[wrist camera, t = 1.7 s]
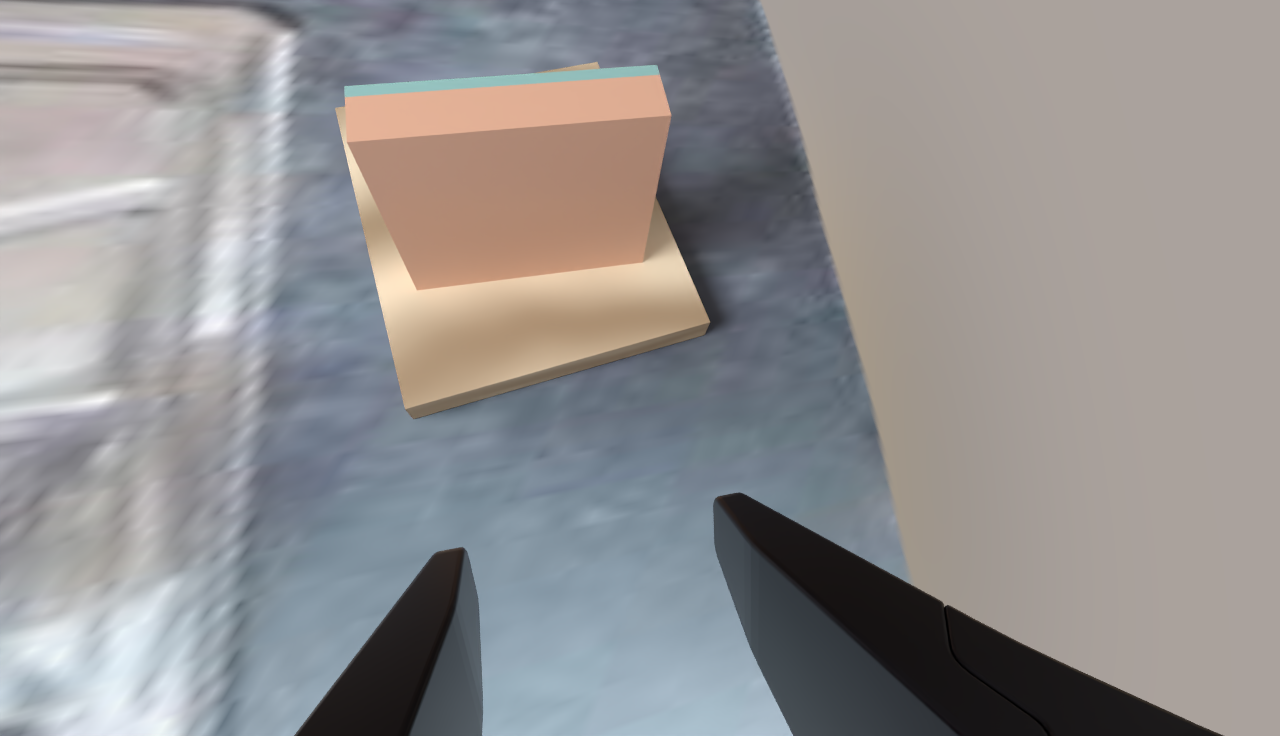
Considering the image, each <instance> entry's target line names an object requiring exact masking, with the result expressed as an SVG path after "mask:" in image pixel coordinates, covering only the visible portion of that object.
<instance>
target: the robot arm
mask: <svg viewBox="0 0 1280 736" xmlns="http://www.w3.org/2000/svg"><path fill="white" fill-rule="evenodd" d="M713 513H714V543H715V549H716V554H717V557H718V560H719V563H720V566H721V568H722V571H723V574H724V577H725V580H726V582H727V585H728V588H729V591H730V593H731V596H732V599H733V602H734V604H735V607H736V610H737V613H738V616H739V618H740V621H741V624H742V627H743V629H744V632H745V635H746V637H747V640H748V643H749V645H750V648H751V650H752V652H753V655H754V657H755V659H756V661H757V663H758V665H759V667H760V669H761V671H762V673H763V676H764V678H765V680H766V682H767V684H768V686H769V688H770V690H771V692H772V694H773V696H774V698H775V700H776V702H777V704H778V706H779V708H780V710H781V712H782V714H783V716H784V718H785V720H786V722H787V724H788V726H789V728H790V730H791V732H792V734H793V736H1223V735H1221V734H1218V733H1216V732H1213V731H1211V730H1209V729H1206V728H1204V727H1202V726H1199V725H1197V724H1195V723H1193V722H1191V721H1188V720H1186V719H1184V718H1182V717H1180V716H1177V715H1175V714H1173V713H1171V712H1169V711H1166V710H1164V709H1162V708H1160V707H1158V706H1156V705H1153V704H1151V703H1149V702H1147V701H1144V700H1142V699H1140V698H1138V697H1136V696H1134V695H1131V694H1129V693H1127V692H1125V691H1122V690H1120V689H1118V688H1116V687H1114V686H1111V685H1109V684H1107V683H1105V682H1103V681H1101V680H1098V679H1096V678H1094V677H1092V676H1090V675H1088V674H1085V673H1083V672H1081V671H1079V670H1077V669H1074V668H1072V667H1070V666H1068V665H1066V664H1064V663H1061V662H1059V661H1057V660H1055V659H1053V658H1051V657H1049V656H1047V655H1045V654H1042V653H1041V652H1038V651H1036V650H1034V649H1032V648H1030V647H1028V646H1026V645H1024V644H1022V643H1020V642H1018V641H1016V640H1014V639H1012V638H1009V637H1008V636H1006V635H1004V634H1002V633H1000V632H998V631H996V630H995V629H993V628H991V627H989V626H986V625H985V624H983V623H981V622H979V621H977V620H975V619H973V618H971V617H970V616H968V615H966V614H964V613H962V612H961V611H958V610H957V609H955V608H953V607H951V606H949V605H947V606H945V607H944V604H943V602H941V601H940V600H938V599H936V598H934V597H933V596H931V595H929V594H927V593H925V592H923V591H921V590H920V589H918V588H916V587H914V586H912V585H911V584H909V583H907V582H905V581H903V580H901V579H899V578H898V577H896V576H894V575H892V574H890V573H888V572H887V571H885V570H883V569H881V568H879V567H877V566H876V565H874V564H872V563H870V562H868V561H866V560H865V559H863V558H861V557H859V556H857V555H855V554H854V553H852V552H850V551H848V550H846V549H844V548H842V547H841V546H839V545H837V544H835V543H833V542H831V541H830V540H828V539H826V538H824V537H822V536H820V535H819V534H817V533H815V532H813V531H811V530H809V529H808V528H806V527H804V526H802V525H800V524H798V523H797V522H795V521H793V520H791V519H789V518H787V517H785V516H784V515H782V514H780V513H778V512H776V511H774V510H773V509H771V508H769V507H767V506H765V505H763V504H762V503H760V502H758V501H756V500H754V499H752V498H751V497H749V496H747V495H745V494H743V493H733V494H728V495H723V496H718V497H717V498H716V499H715V500H714V504H713ZM482 722H483V691H482V667H481V644H480V620H479V603H478V596H477V591H476V586H475V582H474V578H473V574H472V569H471V565H470V561H469V556H468V553H467V551H466V550H465V548H463V547H459V548H454V549H449V550H444V551H439V552H436V553H435V554H434V555H433V556H432V557H431V558H430V559H429V561H428V562H427V563H426V565H425V566H424V567H423V568H422V570H421V571H420V572H419V574H418V575H417V576H416V578H415V579H414V580H413V582H412V583H411V584H410V585H409V587H408V588H407V589H406V591H405V592H404V593H403V595H402V596H401V597H400V598H399V600H398V601H397V602H396V604H395V605H394V606H393V608H392V609H391V610H390V611H389V613H388V614H387V615H386V617H385V618H384V619H383V621H382V622H381V623H380V625H379V626H378V627H377V628H376V630H375V631H374V632H373V634H372V635H371V636H370V638H369V639H368V640H367V641H366V643H365V644H364V645H363V647H362V648H361V649H360V651H359V652H358V653H357V654H356V656H355V657H354V658H353V660H352V661H351V662H350V664H349V665H348V666H347V668H346V669H345V670H344V671H343V673H342V674H341V675H340V677H339V678H338V679H337V681H336V682H335V683H334V684H333V686H332V687H331V688H330V690H329V691H328V692H327V694H326V695H325V696H324V697H323V699H322V700H321V701H320V703H319V704H318V705H317V707H316V708H315V709H314V711H313V712H312V713H311V714H310V716H309V717H308V718H307V720H306V721H305V722H304V724H303V725H302V726H301V727H300V729H299V730H298V731H297V733H296V734H295V735H294V736H482Z"/></svg>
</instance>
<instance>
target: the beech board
mask: <svg viewBox="0 0 1280 736" xmlns="http://www.w3.org/2000/svg"><path fill="white" fill-rule="evenodd" d="M590 69H600V68H599V65H598V63H597V62H595V63H589V64H583V65H578V66H572V67H566V68H561V69H555V70H549V71H543V72H538V73H547V72H561V71H576V70H590ZM335 109H336V114H337V118H338V122H339V126H340V131H341V135H342V139H343V144H344V148H345V152H346V157H347V161H348V165H349V170H350V174H351V178H352V182H353V187H354V191H355V195H356V200H357V204H358V208H359V213H360V217H361V221H362V225H363V230H364V234H365V238H366V243H367V247H368V251H369V256H370V260H371V264H372V269H373V273H374V277H375V281H376V286H377V290H378V294H379V299H380V303H381V307H382V312H383V316H384V320H385V324H386V329H387V333H388V337H389V342H390V346H391V350H392V355H393V359H394V363H395V368H396V372H397V376H398V380H399V385H400V389H401V393H402V398H403V402H404V406H405V410H406V411H407V412H408V413H409V415H410V416H411V417H412V418H413V419H416V418H419V417H423V416H426V415H430V414H433V413H436V412H440V411H443V410H447V409H450V408H454V407H457V406H461V405H464V404H468V403H471V402H475V401H478V400H481V399H485V398H488V397H492V396H495V395H499V394H502V393H506V392H509V391H513V390H516V389H519V388H523V387H526V386H530V385H533V384H537V383H540V382H544V381H547V380H551V379H554V378H557V377H561V376H564V375H568V374H571V373H575V372H578V371H582V370H585V369H589V368H592V367H595V366H599V365H602V364H606V363H609V362H613V361H616V360H620V359H623V358H627V357H630V356H634V355H637V354H640V353H644V352H647V351H651V350H654V349H658V348H661V347H665V346H668V345H672V344H675V343H678V342H682V341H685V340H689V339H692V338H696V337H699V336H703V335H705V333H706V330H707V328H708V326H709V324H710V320H709V318H708V316H707V313H706V311H705V309H704V307H703V304H702V302H701V300H700V297H699V295H698V293H697V290H696V288H695V286H694V284H693V281H692V279H691V277H690V274H689V272H688V270H687V267H686V265H685V263H684V261H683V258H682V256H681V254H680V251H679V249H678V247H677V244H676V242H675V240H674V238H673V235H672V233H671V231H670V228H669V226H668V224H667V222H666V219H665V217H664V215H663V212H662V210H661V208H660V205H659V203H658V201H657V199H656V196H655V201H654V207H653V212H652V217H651V222H650V227H649V232H648V237H647V242H646V247H645V253H644V258H643V262H642V263H634V264H626V265H618V266H610V267H602V268H594V269H586V270H578V271H570V272H562V273H554V274H546V275H538V276H530V277H521V278H513V279H505V280H497V281H489V282H481V283H473V284H465V285H457V286H449V287H441V288H433V289H425V290H416V287H415V285H414V283H413V281H412V279H411V277H410V275H409V273H408V271H407V268H406V266H405V264H404V262H403V260H402V258H401V256H400V254H399V252H398V249H397V247H396V245H395V243H394V241H393V239H392V237H391V235H390V233H389V230H388V228H387V226H386V224H385V222H384V220H383V218H382V216H381V214H380V211H379V209H378V207H377V205H376V203H375V201H374V199H373V197H372V195H371V192H370V190H369V188H368V186H367V184H366V182H365V180H364V178H363V176H362V173H361V171H360V169H359V167H358V165H357V163H356V161H355V159H354V156H353V154H352V152H351V150H350V148H349V146H348V144H347V135H346V111H345V106H344V107H339V108H335Z"/></svg>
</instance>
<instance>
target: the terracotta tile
mask: <svg viewBox="0 0 1280 736" xmlns="http://www.w3.org/2000/svg"><path fill="white" fill-rule="evenodd" d="M344 87H345V111H346V135H347V144H348V146H349V148H350V150H351V152H352V154H353V156H354V159H355V161H356V163H357V165H358V167H359V169H360V171H361V173H362V176H363V178H364V180H365V182H366V184H367V186H368V188H369V190H370V192H371V195H372V197H373V199H374V201H375V203H376V205H377V207H378V209H379V211H380V214H381V216H382V218H383V220H384V222H385V224H386V226H387V228H388V230H389V233H390V235H391V237H392V239H393V241H394V243H395V245H396V247H397V249H398V252H399V254H400V256H401V258H402V260H403V262H404V264H405V266H406V268H407V271H408V273H409V275H410V277H411V279H412V281H413V283H414V285H415V287H416V290H425V289H433V288H441V287H449V286H457V285H465V284H473V283H481V282H489V281H497V280H505V279H513V278H521V277H530V276H538V275H546V274H554V273H562V272H570V271H578V270H586V269H594V268H602V267H610V266H618V265H626V264H634V263H642V262H643V258H644V253H645V247H646V242H647V237H648V232H649V227H650V222H651V217H652V212H653V207H654V201H655V196H656V191H657V186H658V181H659V176H660V171H661V166H662V160H663V155H664V150H665V145H666V140H667V135H668V130H669V125H670V120H671V112H670V109H669V106H668V102H667V99H666V95H665V92H664V88H663V85H662V81H661V78H660V74H659V71H658V67H657V65H649V66H634V67H620V68H605V69H590V70H576V71H561V72H547V73H532V74H518V75H503V76H488V77H474V78H459V79H445V80H430V81H415V82H401V83H386V84H372V85H357V86H344Z"/></svg>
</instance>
